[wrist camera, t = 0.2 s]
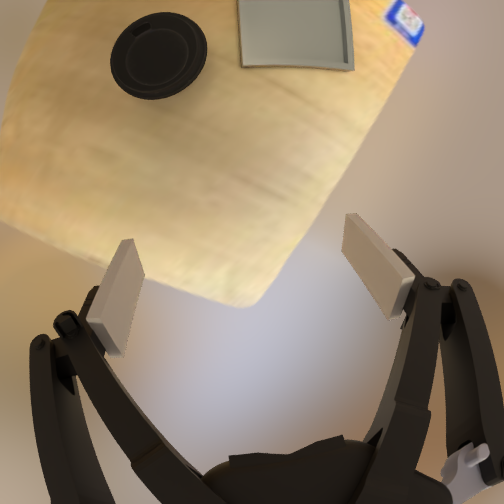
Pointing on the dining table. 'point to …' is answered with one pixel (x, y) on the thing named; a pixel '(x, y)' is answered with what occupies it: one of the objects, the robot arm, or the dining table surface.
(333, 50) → the tray
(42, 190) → the dining table surface
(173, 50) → the coffee cup
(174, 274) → the dining table surface
